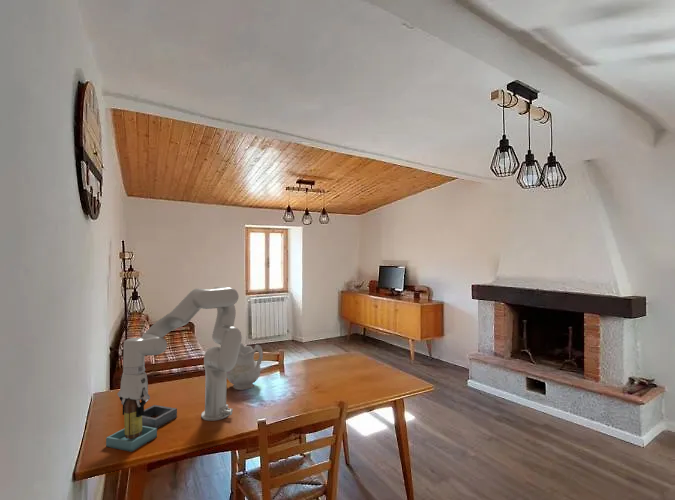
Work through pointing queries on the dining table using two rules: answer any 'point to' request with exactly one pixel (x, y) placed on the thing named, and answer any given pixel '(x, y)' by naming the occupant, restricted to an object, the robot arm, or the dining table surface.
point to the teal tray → (130, 445)
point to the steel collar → (163, 416)
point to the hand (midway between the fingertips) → (133, 414)
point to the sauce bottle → (132, 420)
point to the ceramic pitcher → (245, 368)
